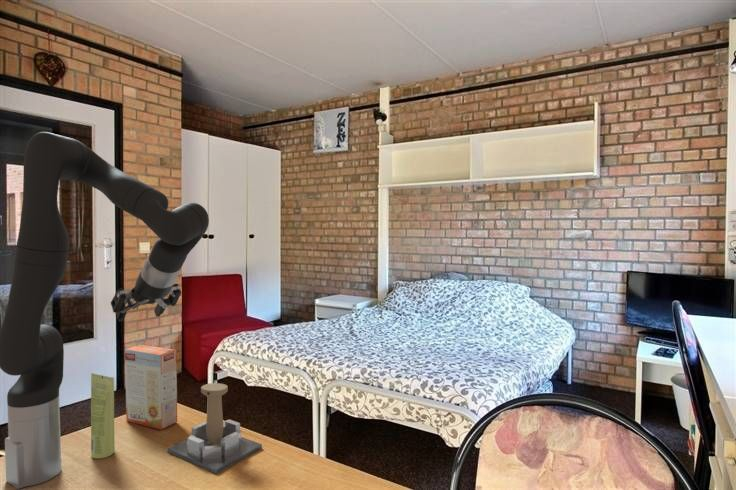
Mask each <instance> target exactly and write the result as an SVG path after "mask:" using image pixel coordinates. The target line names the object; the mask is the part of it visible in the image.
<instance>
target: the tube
mask: <svg viewBox="0 0 736 490" xmlns="http://www.w3.org/2000/svg"><path fill="white" fill-rule="evenodd" d="M90 386H91V387H90V413H91V414H90V455H91V457H92V458H93V459H104V458H108V457H110V456H111V455H113V454H114V453H115V447H116V446H115V445H116V444H115V443H116V442H115V377H113V376H107V375H103V374H102V375H101V374H98V373H94V372H93V373H92V372H91V373H90Z"/></svg>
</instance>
